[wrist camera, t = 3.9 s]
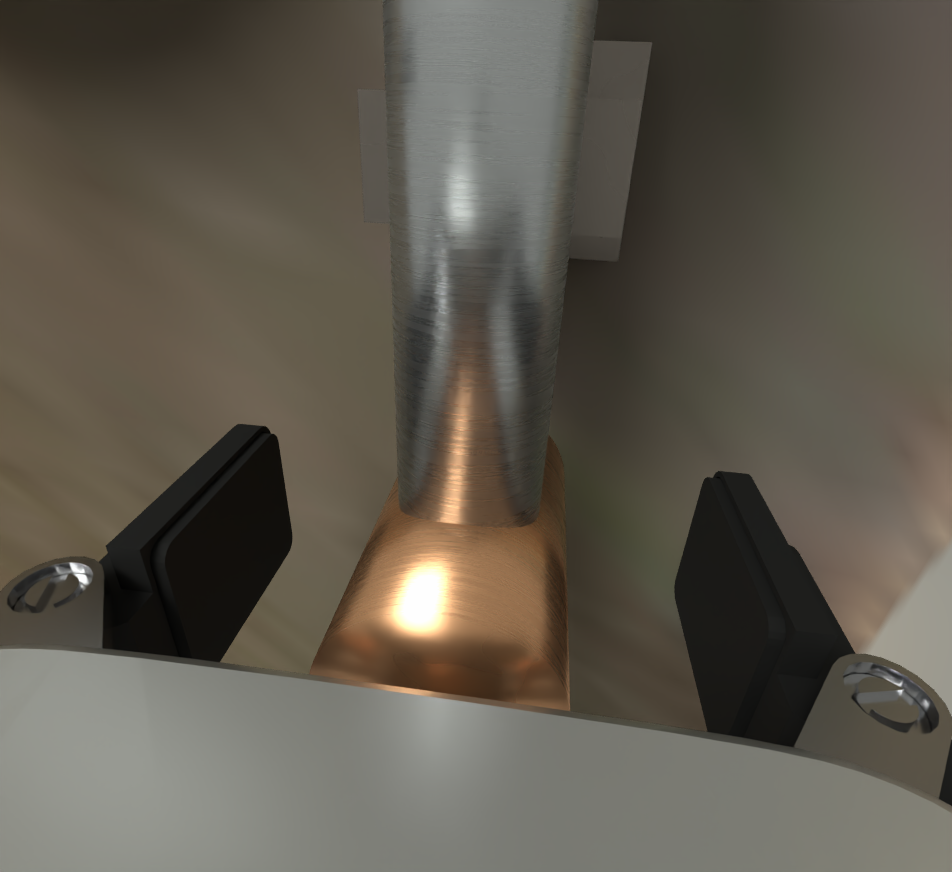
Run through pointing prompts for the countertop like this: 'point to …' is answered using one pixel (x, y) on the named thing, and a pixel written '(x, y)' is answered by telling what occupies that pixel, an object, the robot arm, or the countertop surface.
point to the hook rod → (474, 354)
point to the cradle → (601, 159)
